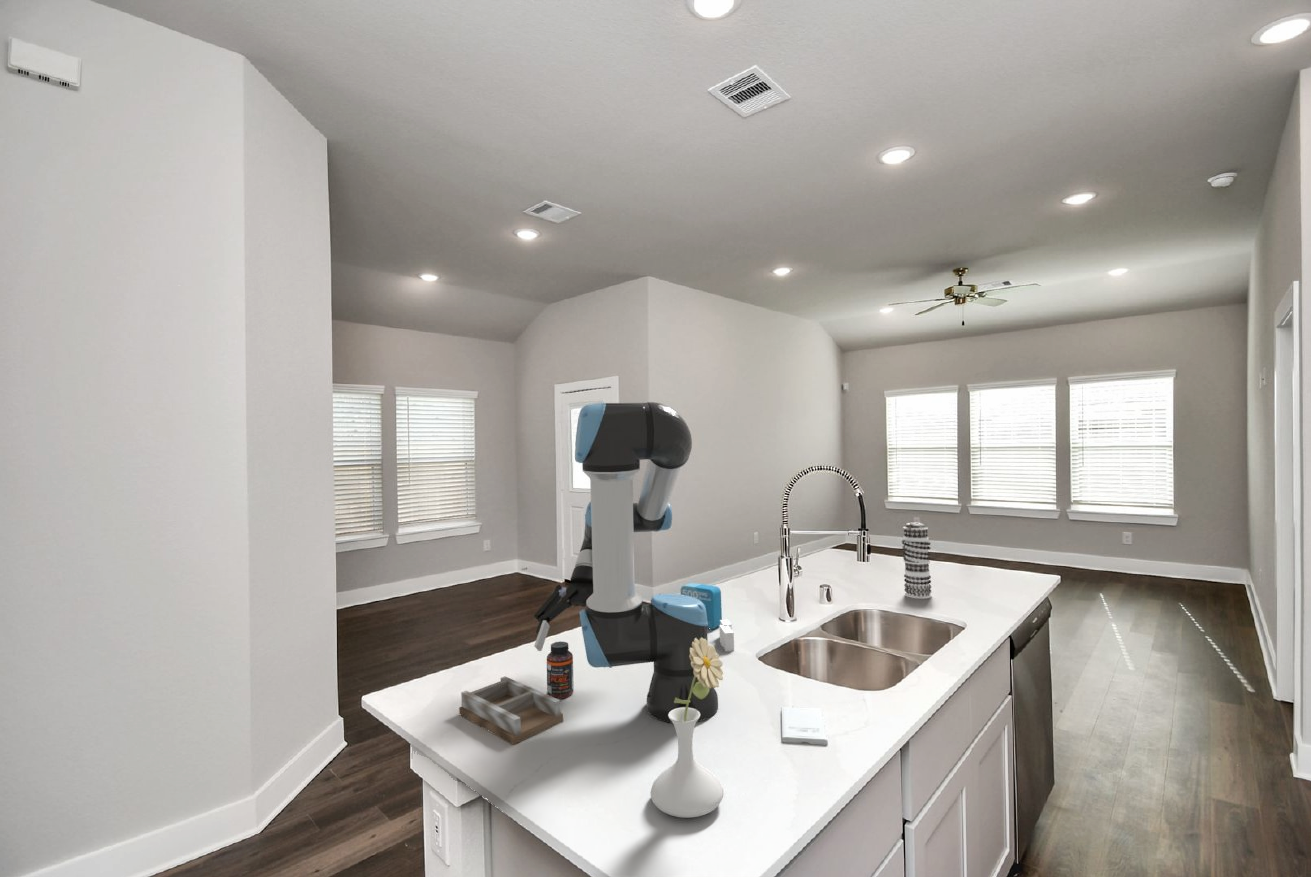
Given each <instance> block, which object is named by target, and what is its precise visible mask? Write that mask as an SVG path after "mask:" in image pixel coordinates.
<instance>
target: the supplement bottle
mask: <svg viewBox="0 0 1311 877" xmlns="http://www.w3.org/2000/svg"><path fill="white" fill-rule="evenodd" d="M546 684H547V685H546V686H547V687H546V691H547V693H546V694H547V695H549V696H552V697H554V698H556V699H565V698H568V697H570V696H571V695H572V694H573V693H574V655H573V653H572V652H571V651H570V650H569V643H568V642H567V641H561V640H559V641H555V642H553V643H551V644H550V652H549V653H548V654H547V656H546Z"/></svg>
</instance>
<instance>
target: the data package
mask: <svg viewBox="0 0 1311 877" xmlns="http://www.w3.org/2000/svg"><path fill="white" fill-rule="evenodd" d="M680 594H681V595H686V596H690V597H694V598H696V599H698V600H700V601H701V602H702V603H703V604H704V605H705V608H706V615H707V622H708V625H707V628H710V629H712V630H714V629H716V628H718V627H719V625H720V620H723V612H722V591H721V588H720V587H718V586H716V585H710V584H702V583H695V582H690V583H687V584H684V585H682V586H681V588H680ZM717 626H718V627H717ZM710 629H709V630H710Z"/></svg>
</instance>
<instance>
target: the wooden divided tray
mask: <svg viewBox="0 0 1311 877" xmlns="http://www.w3.org/2000/svg"><path fill="white" fill-rule="evenodd" d="M499 679H500V681H497V682H494V683H491V684H489V685H487V686H484V687H481V688H478V689H475V690H473V691H468V690H464V691H461V692H460V694H461V706H459V708H458V711H459V714H461V715H462V716H461V715H460V716H461V717H463V716H465V717H466V718H468V719H469V720H468V719H467V720H468V721H470V722H472V721H473V722H472V723H474V724H475V723H476V725H477V726H479V725H480V726H479V727H481V728H482V727H483V728H482V729H484V728H485V730H486V729H487V730H486V731H488V730H489V731H490V733H491V732H492V733H491V734H494V735H495V736H496V737H499V738H500V739H502V740H504V741H505V742H507V743H510V744H511V745H516V744H518V743H521V742H523V741H524V740H527V739H529V738H531V737H533V736H535V735H538V734H540V733H541V732H544V731H546V730H547V729H550V728H552V727H554V726H556V725H558V724H561V723H563V722H564V714H563V713H562V710H561V709H562V708H561V700H560V699H559V698H554V697H552V696H549V695H548V693H544V692H543V691H540V690H538V689H535V688H533V687H531V686H528V685H526V684H524V683H521V682H519V681H517V680H514V679H513V678H510V677H508V676H502V677H500V678H499ZM465 717H464V718H465ZM466 718H465V719H466ZM489 731H488V732H489Z"/></svg>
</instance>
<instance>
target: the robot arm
mask: <svg viewBox="0 0 1311 877" xmlns="http://www.w3.org/2000/svg"><path fill="white" fill-rule="evenodd" d="M692 444H693V439H692V435H691V431H690V428H689V426H688V425H687V423H686V421H685V420H684V418H683V417H682V416H681V414H679V413H678V412H677V411H676V410H674V409H673V408H672V407H670V406H668V405H666V404H663V403H659V402H654V401H649V402H600V403H592V404H590V403H589V404H585V405H584V406H582V408H581V409H580V411H579V414H578V419H577V425H576V434H575V443H574V445H575V446H574V460H575V462H577V463H578V464H582V466H581V468H582V472H583V473H584V474H585V476H587V477H588V478H589V479H590V480H589V482H590V501H589V502H588V504H587V507H586V510H585V511H586V512H585V514H584V516H585V517H584V521H585V522H584V524H585V525H584V536H583V539H582V544H581V547H580V550H579V553H578V556H577V559H576V561H575V564H574V568H573V570H572V573H571V576H570V580H569V584H568V586H567V587H563V586H562V585H561V584H557V585H556V586H555V588H554V591H553V593H551V595H550V596H549V597H548V598H547V600H545V602H544V603H543V604H542V605H541V607H539V608H538V610H537V611H536V612H535V613H534V615H533V616H534V618H535V619H536V621H537V622H539V623H538V625H537V628H536V631H535V632H536V635H537V637H536V639H535V642H534V644H533V645H534V646H533V647H535V649H536V650H537V651H538V652H542V650H543V647H544V644H545V641H546V639H547V636H548V633H549V630H550V627H551V626H550V622H552V621H553V620H555V618H556V617H558V616H559V615H560V614H562V613H563V612H564V611H565V610H566V609H569V608H571V607H572V606H573V607H582V608H583V609H581V610H580V611H579V612H578V613H579V619H580V625H581V632H582V638H583V644H584V648H585V654H586V655H585V656H586V661H587V663H588V665H589V666H591V667H592V668H597V669H598V668H609V669H610V668H613V667H622V666H631V665H637V664H638V665H640V664H647V663H653V672H652V676H651V681H650V684H649V688H648V692H647V695H646V710H647V713H648V714H649V715H650V716H652V717H653V718H654V719H657V720H659V721H662V722H666V723H672V724H673V722H672V721H671V720H670V719H669V717H668V714H669V712H670V711H671V710H673V709H676V708H681V707H686V704H682V703H674V700H675V698H678V699H681V700H688V697H689V693H690V689H691V685H692V681H693V678H694V673H693V671H694V669H693V667H692V666H691V660H690V657H689V655H690V648H692V642H694V639H695V638H697V639H698V641H699V640H700V639H701V638H703V639H706V640H707V642H708V643H709V641H708V629H707V625H708V622H707V615H706V608H705V605H704V604H703V603H702V602H701V601H700V600H698V599H696V598H694V597H690V596H686V595H681V593H680V594H679V593H668V592H667V593H659V594H654V595H653V596H652V597H651V600H650V603H647V604H643V597H642V596H641V595H640V594H639V593H637V591H636V587H635V585H636V584H635V582H636V581H635V539H634V537H635V536H634V534H635V533H647V532H657V533H658V532H661V531H666V530H667V531H668V530H670V529H671V527H672V525H673V523H672V522H673V511H672V510H673V509H672V506H671V504H670V503H669V502H670V498H671V496H672V493H673V490H674V487H675V486H676V482H677V479H678V476H679V472H680V470H681V468H682V467H684V466H685V465H686V464H687V463H688V461H689V458H690V455H691V453H692V449H693V448H692V447H693V446H692ZM642 460H643V461H644V460H646V461H647V462H646V464H645V468H644V469H645V470H644V473H643V477H642V482H641V486H640V490H639V493H638V499H637V502H634V491H633V489H634V488H633V478H634V476H635V475H636V474H637V473H638V472H639V471H640V469H641V468H640V466H641V463H640V462H641V461H642ZM697 682H699V680H698V679H697V677H696V679H695V682H694V685H695V684H696V683H697ZM693 687H694V686H693ZM692 691H693V690H692ZM718 696H719V695H718V693H717V690H716V688H713V687H711V688H709V693H708V695H707V696H706V697H705V698H703V699H699V698H698V697H696V696H695V695H694V694H693V692H692V694H691V698H690V701H691V702H690V703H689V705H688V708H693V709H696V710H697V711H699V712H700V717H699V719H698V720H697V722H701V721H703V720H707V719H709V718H711V717H713V715H715V714H716V713H717V712H718V710H719V697H718ZM697 722H696V723H697Z"/></svg>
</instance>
